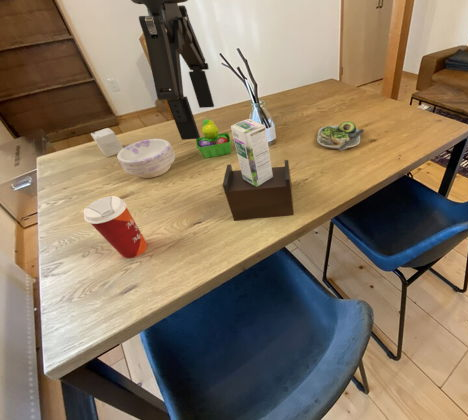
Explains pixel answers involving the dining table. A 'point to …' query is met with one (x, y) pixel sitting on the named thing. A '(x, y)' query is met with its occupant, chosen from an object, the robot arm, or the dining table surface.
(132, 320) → the dining table surface
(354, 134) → the salad plate
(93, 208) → the paper cup
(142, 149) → the paper bowls
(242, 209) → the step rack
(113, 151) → the product carton
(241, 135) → the syrup box
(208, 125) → the fruit basket
